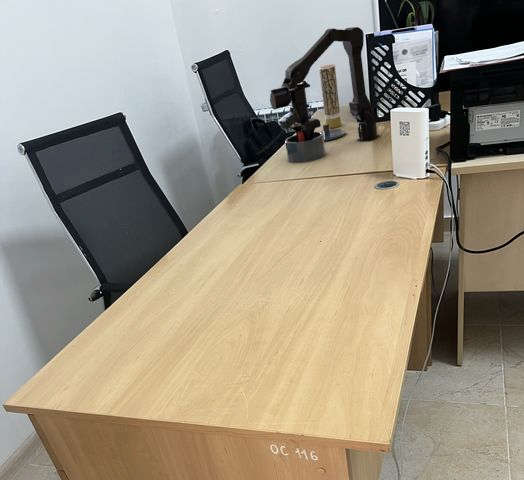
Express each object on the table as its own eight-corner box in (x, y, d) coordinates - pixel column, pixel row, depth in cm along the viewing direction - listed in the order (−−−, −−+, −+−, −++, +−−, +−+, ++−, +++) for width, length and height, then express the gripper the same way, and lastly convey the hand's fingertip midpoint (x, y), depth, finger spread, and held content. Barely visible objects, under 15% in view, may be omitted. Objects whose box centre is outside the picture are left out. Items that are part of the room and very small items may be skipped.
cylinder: (313, 147, 211) (311, 129, 207) (306, 151, 208) (304, 132, 204) (304, 147, 213) (302, 129, 210) (298, 151, 211) (295, 132, 207)
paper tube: (340, 127, 243) (334, 65, 229) (325, 129, 245) (318, 68, 231) (341, 123, 248) (335, 63, 235) (327, 126, 250) (319, 66, 236)
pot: (328, 149, 216) (325, 129, 212) (321, 160, 204) (319, 139, 200) (293, 153, 220) (290, 134, 216) (284, 164, 209) (281, 144, 205)
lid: (348, 130, 236) (347, 117, 233) (342, 139, 224) (341, 126, 221) (312, 134, 241) (311, 122, 238) (305, 144, 229) (303, 131, 226)
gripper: (269, 106, 207) (276, 148, 216) (291, 110, 192) (298, 155, 201) (295, 99, 210) (301, 140, 218) (318, 102, 195) (324, 146, 203)
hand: (305, 145), depth 210 cm, fingers closed on cylinder, 4 cm apart
